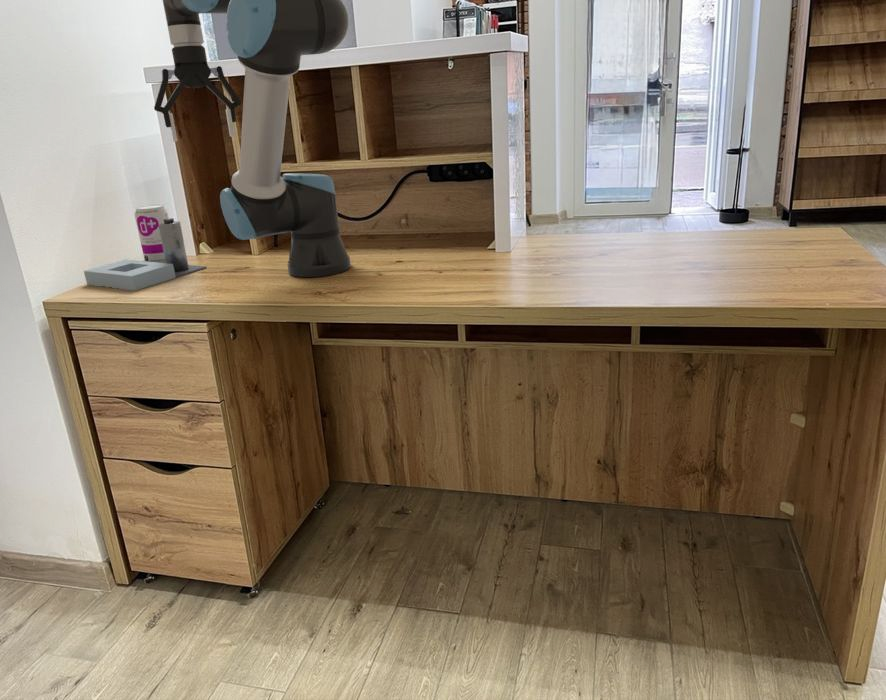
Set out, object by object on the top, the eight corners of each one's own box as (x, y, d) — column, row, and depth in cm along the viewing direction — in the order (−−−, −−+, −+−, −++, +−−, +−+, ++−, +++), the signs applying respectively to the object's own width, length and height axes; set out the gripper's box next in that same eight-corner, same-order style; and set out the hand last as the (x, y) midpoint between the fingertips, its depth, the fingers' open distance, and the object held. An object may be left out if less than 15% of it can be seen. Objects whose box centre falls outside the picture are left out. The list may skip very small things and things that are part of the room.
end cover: (193, 268, 181) (183, 217, 176) (177, 272, 177) (167, 221, 172) (179, 266, 183) (169, 217, 179) (163, 271, 179) (152, 220, 175)
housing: (175, 277, 174) (172, 264, 172) (134, 290, 164) (131, 276, 163) (128, 272, 182) (125, 259, 181) (87, 284, 173) (83, 270, 172)
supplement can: (166, 264, 188) (154, 209, 183) (139, 265, 190) (126, 210, 185) (182, 257, 196) (171, 203, 191) (156, 258, 198) (145, 204, 192)
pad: (206, 268, 182) (206, 266, 182) (175, 277, 174) (175, 276, 174) (180, 265, 186) (180, 264, 186) (149, 274, 178) (148, 273, 178)
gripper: (238, 45, 174) (252, 134, 181) (130, 49, 165) (149, 142, 172) (243, 42, 168) (257, 134, 175) (132, 46, 158) (152, 144, 166)
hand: (204, 139), depth 174 cm, fingers open, 13 cm apart
